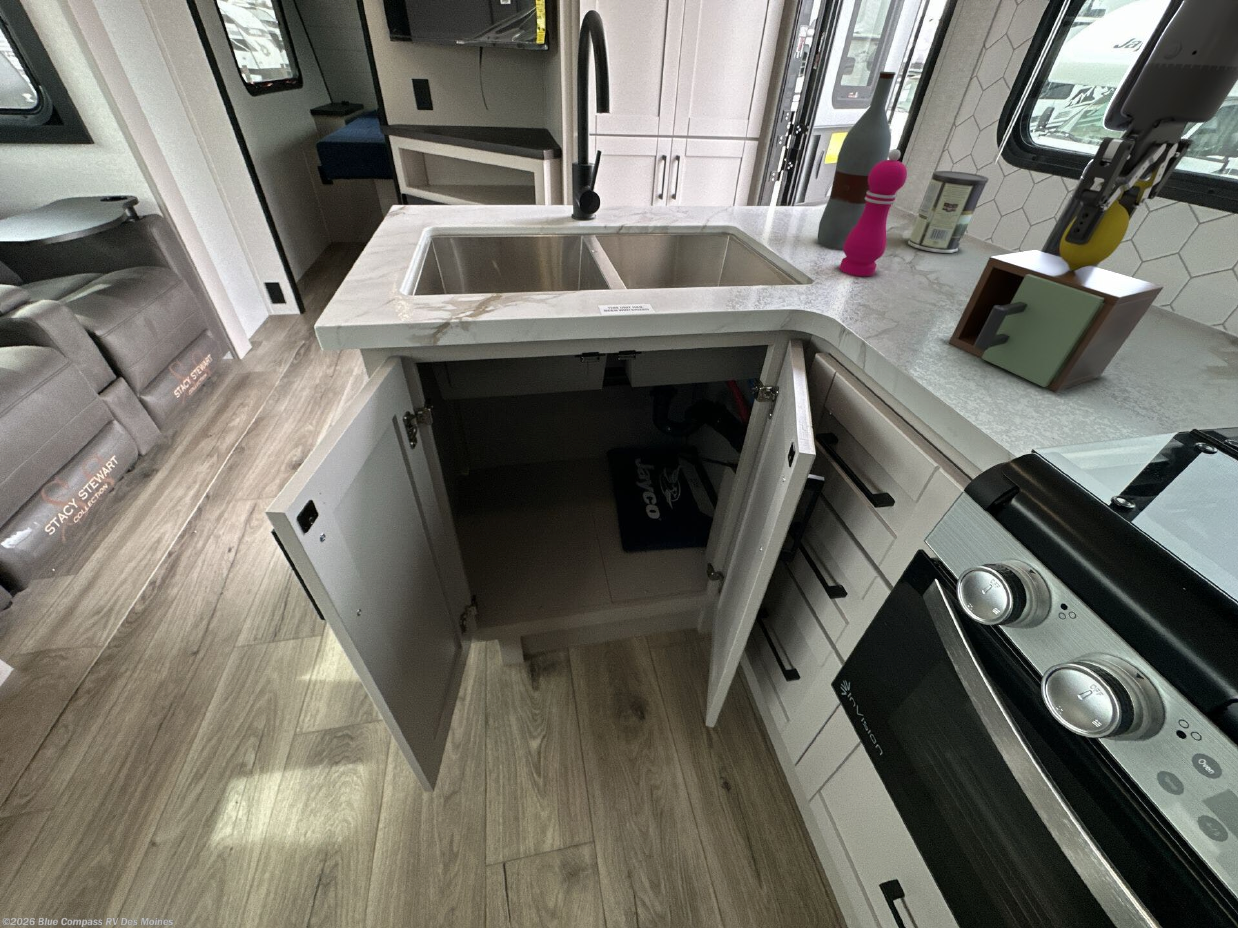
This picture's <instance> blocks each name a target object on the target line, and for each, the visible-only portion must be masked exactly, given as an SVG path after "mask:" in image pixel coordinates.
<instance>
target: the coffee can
mask: <svg viewBox="0 0 1238 928" xmlns="http://www.w3.org/2000/svg"><path fill="white" fill-rule="evenodd" d="M989 179H990V178H989V177H988V176H985V175H981V174H976V173H970V172H964V171H954V170H953V171H952V170H937V171H936V170H935V171H933V172H932V177H931V181H930V183H929V185H928V187H927V191H926V193H925V196H924V198H923V201H922V204H921V206H920V210H919V211H918V215H917V217H916V220H915V223H914V226H913V228H912V231H911V234H910V235H909V236H910V237H909V238H908V241H907V244H908V245H909V246H911V247H912V248H915V249H918V250H920V251H921V250H922V251H926V252H931V253H938V254H951V253H952V254H953V253H956V252H958V250H959V247H960V245H961V242H962V240H963V237H964V236H965V233H966V231H967V228H968V226H969V224H970V221H971V220H972V217H973V216H974V215H973V214H974V212H975V210H976V208H977V206H978V203H979V201H980V198H981V196H982V194H983V192H984V190H985V187H986V185H987V184H988V182H989Z"/></svg>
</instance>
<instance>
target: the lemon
mask: <svg viewBox="0 0 1238 928" xmlns="http://www.w3.org/2000/svg"><path fill="white" fill-rule="evenodd" d="M1106 211H1107V212H1106V213H1105V215H1104V217H1103V218H1102V220H1101V222H1100V223H1099V225H1098V227H1097V229H1096V230H1095V232H1094V234H1093V235H1092V237H1091V239H1090V240H1089V242H1088V243H1087V244H1084V245H1077V244H1073V243H1069V242H1066V241H1065V237H1066V235H1067V233H1068V231H1069V229H1070V228H1071V226H1072V224H1073V222H1074V221H1075V219H1076V217H1077V216H1076V217H1075V218H1074V220H1073V221H1072V222H1071V223H1070V225H1069V226H1068V227H1067V229H1066V231H1065V232H1064V234H1063V237H1062V239H1061V243H1060V255H1061V257H1062V259H1063V260H1064V261H1065V262H1067V264H1068V266H1069V269H1070V270H1072V271H1076V270H1078V269H1080V268H1082V267H1086V266H1091V265H1094V264H1097V263H1099V262H1100V263H1101V262H1104V261H1105V260H1106V259H1108V258H1109V257H1110V256H1112V254H1113V253H1114V252H1115V251H1116V250H1117V249H1118V247H1119V246H1120V245H1121V243H1122V241H1123V240H1124V238H1125V235H1126V234H1127V231H1128V228H1129V224H1130V220H1129V215H1128V213H1127V211H1126V209H1125V208H1124V207H1123V206H1122V205H1120V204H1119V202H1118V200H1116V199H1115V200H1114V202H1113V203H1112V204H1111V205H1110V207H1109V208H1108V209H1107V210H1106ZM1100 263H1099V264H1100Z"/></svg>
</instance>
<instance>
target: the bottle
mask: <svg viewBox="0 0 1238 928" xmlns="http://www.w3.org/2000/svg"><path fill="white" fill-rule="evenodd" d="M896 74H897V73H896V72H895V71H882V70H881V71H880V72H879V76H878V79H877V82H876V85H875V89H874V92H873V95H872V99H871V102H870V105H869V107H868V108H867V109H866V111H865V112H864V113H863V114H862V115H861V117H860V118H859V119H858V120H857V121H856V123H855V124H854V125H853V126H852V127H851V128H850V129H849V130H848V132H847V134H846V135H845V137H844V139H843V141H842V144H841V147H840V149H839V152H838V154H837V159H836V165H835V171H834V175H833V181H832V185H831V189H830V194H829V199H828V200H827V203H826V206H825V208H824V211H823V213H822V215H821V218H820V220H819V224H818V230H817V244H818V245H819V246H821V247H824V248H826V249H827V248H828V249H832V250H838V251H844V250H843V246H844V243H845V240H846V238H847V237H848V235H849V233H850V232H851V231H852V229H853V228H854V227H855V225H856V224H857V223H858V221H859V219H860V218H861V216H862V213H863V211H864V208H865V205H866V200H865V197H866V195H867V191H869V190H870V187H869V184H868V177H869V174H870V172H871V170H872V168H873V167H874V166H875V165H876V164H878V163H879V162H881V161H884V160H889V158H888V157H889V153H890V151H891V145H892V133H891V129H890V125H889V119H888V115H887V111H886V106H887V103H888V100H889V96H890V92H891V89H892V86H893V82H894V79H895V76H896Z"/></svg>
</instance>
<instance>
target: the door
mask: <svg viewBox="0 0 1238 928" xmlns="http://www.w3.org/2000/svg"><path fill="white" fill-rule="evenodd" d="M1104 299H1105V298H1103V297H1100V296H1097V295H1093V294H1090V293H1087V292H1084V291H1081V290H1078V289H1075V288H1072V287H1069V286H1065V285H1062V284H1059V283H1056V282H1053V281H1050V280H1047V279H1044V278H1040V277H1037V276H1034V275H1031V274H1028V275H1026V276H1025V278H1024V280H1023V281H1022V283H1021V285H1020V287H1019V289H1018V291H1017V293H1016V294H1015V296H1014V298H1013V300H1012V302H1011V304H1007V305H1002V306H1000V305H996V306H994V307H993V309H992V311H991V313H990V315H989V317H988V319H987V321H986V323H985V325H984V327H983V329H982V331H981V332H980V334H979V336H978V338H977V340H976V342H975V344H974V347H975V348H977V349H980V350H985V352H984V354H983V356H982V358H981V359H982V360H984V361H986V362H988V363H991V364H992V365H995V366H998V367H999V368H1002V369H1004V370H1006V371H1007V372H1009V373H1012V374H1014V375H1017V376H1019V377H1021V378H1022V379H1025V380H1027V381H1030V382H1032V383H1034V384H1036V385H1038V386H1040V387H1042V388H1045V387H1046V386H1048V385H1049V383H1050V382H1051V380H1052V379H1053V377H1054V376H1055V374H1056V373H1057V371H1058V370H1059V368H1060V366H1061V365H1062V363H1063V362H1064V360H1065V359H1066V357H1067V356H1068V354H1069V353H1070V351H1071V350H1072V348H1073V346H1074V345H1075V343H1076V342H1077V340H1078V339H1079V337H1080V336H1081V334H1082V333H1083V331H1084V330H1085V328H1086V327H1087V325H1088V323H1089V322H1090V320H1091V319H1092V317H1093V316H1094V314H1095V313H1096V311H1097V310H1098V308H1099V307H1100V305H1101V304H1102V302H1103V300H1104Z"/></svg>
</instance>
